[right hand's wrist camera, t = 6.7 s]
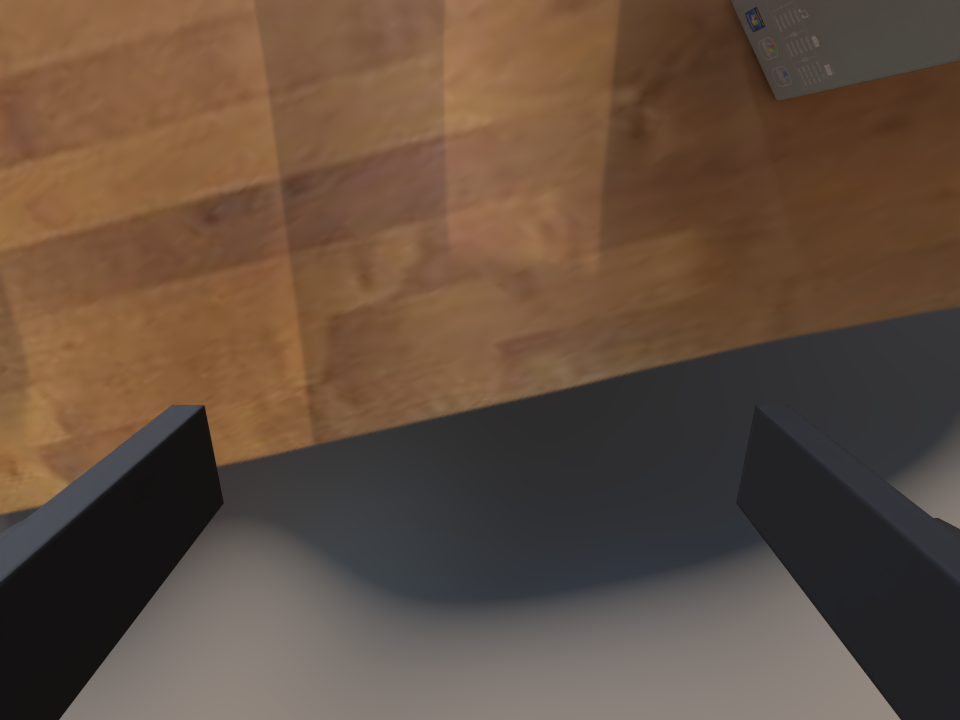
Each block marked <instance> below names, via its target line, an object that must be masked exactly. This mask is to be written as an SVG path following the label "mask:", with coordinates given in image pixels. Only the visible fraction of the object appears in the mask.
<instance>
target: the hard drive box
mask: <svg viewBox="0 0 960 720" xmlns="http://www.w3.org/2000/svg"><path fill="white" fill-rule="evenodd" d="M731 2H732V4H733V7H734V9H735V11H736V13H737V16H738V18H739V20H740V22H741V24H742V26H743V29H744V31H745V33H746V35H747V37H748V40H749V42H750V44H751V46H752V48H753V50H754V53H755V55H756V57H757V59H758V61H759V63H760V66H761V68H762V70H763V72H764V74H765V77H766V79H767V81H768V83H769V85H770V87H771V89H772V92H773V94H774V96H775V97H776V99H777V100H778V101H781V100H785V99H790V98H795V97H800V96H804V95H809V94H814V93H818V92H823V91H827V90H832V89H836V88H840V87H845V86H849V85H853V84H858V83H862V82H867V81H871V80H876V79H881V78H885V77H890V76H894V75H899V74H903V73H908V72H912V71H916V70H921V69H925V68H930V67H934V66H939V65H943V64H948V63H952V62H957V61H960V0H731Z"/></svg>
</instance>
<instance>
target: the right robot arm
mask: <svg viewBox="0 0 960 720" xmlns="http://www.w3.org/2000/svg"><path fill="white" fill-rule="evenodd" d="M223 503H224V502H223V497H222V492H221V487H220V482H219V477H218V472H217V467H216V462H215V457H214V452H213V446H212V441H211V436H210V431H209V426H208V421H207V416H206V411H205V406H204V405H172V406H170V407H169V408H168V409H167V410H165V411H164V412H163V413H161V414H160V415H159V416H158V417H156V418H155V419H154V420H152V421H151V422H150V423H149V424H147V425H146V426H145V427H143V428H142V429H141V430H140V431H138V432H137V433H136V434H134V435H133V436H132V437H131V438H129V439H128V440H127V441H125V442H124V443H123V444H122V445H120V446H119V447H118V448H116V449H115V450H114V451H113V452H111V453H110V454H109V455H107V456H106V457H105V458H104V459H102V460H101V461H100V462H98V463H97V464H96V465H95V466H93V467H92V468H91V469H89V470H88V471H87V472H86V473H84V474H83V475H82V476H80V477H79V478H78V479H77V480H75V481H74V482H73V483H71V484H70V485H69V486H68V487H66V488H65V489H64V490H62V491H61V492H60V493H59V494H57V495H56V496H55V497H53V498H52V499H51V500H50V501H48V502H47V503H46V504H44V505H43V506H42V507H41V508H39V509H38V510H37V511H35V512H34V513H33V514H32V515H30V516H29V517H28V518H26V519H25V520H21V521H19V522H17V523H16V524H14V525H12V526H10V527H8V528H6V529H4V530H2V531H0V720H59V719H60V718H61V716H62V715H63V714H64V713H65V711H66V710H67V708H68V707H69V706H70V705H71V703H72V702H73V701H74V699H75V698H76V697H77V695H78V694H79V693H80V691H81V690H82V689H83V687H84V686H85V685H86V684H87V682H88V681H89V680H90V678H91V677H92V676H93V674H94V673H95V672H96V670H97V669H98V668H99V666H100V665H101V664H102V663H103V661H104V660H105V659H106V657H107V656H108V655H109V653H110V652H111V651H112V649H113V648H114V647H115V645H116V644H117V643H118V641H119V640H120V639H121V638H122V636H123V635H124V634H125V632H126V631H127V630H128V628H129V627H130V626H131V624H132V623H133V622H134V620H135V619H136V618H137V616H138V615H139V614H140V613H141V611H142V610H143V609H144V607H145V606H146V605H147V603H148V602H149V601H150V599H151V598H152V597H153V595H154V594H155V593H156V591H157V590H158V589H159V588H160V586H161V585H162V584H163V582H164V581H165V580H166V578H167V577H168V576H169V574H170V573H171V572H172V570H173V569H174V568H175V566H176V565H177V564H178V562H179V561H180V560H181V559H182V557H183V556H184V555H185V553H186V552H187V551H188V549H189V548H190V547H191V545H192V544H193V543H194V541H195V540H196V539H197V538H198V536H199V535H200V534H201V532H202V531H203V530H204V528H205V527H206V526H207V524H208V523H209V522H210V520H211V519H212V518H213V516H214V515H215V514H216V512H217V511H218V510H219V509H220V507H221V506H222V505H223ZM737 505H738V506H739V507H740V509H741V510H742V511H743V512H744V514H745V515H746V516H747V518H748V519H749V520H750V522H751V523H752V524H753V526H754V527H755V528H756V530H757V531H758V532H759V534H760V535H761V536H762V537H763V539H764V540H765V541H766V543H767V544H768V545H769V547H770V548H771V549H772V551H773V552H774V553H775V555H776V556H777V557H778V559H779V560H780V561H781V563H782V564H783V565H784V566H785V568H786V569H787V570H788V572H789V573H790V574H791V576H792V577H793V578H794V580H795V581H796V582H797V584H798V585H799V586H800V587H801V589H802V590H803V591H804V593H805V594H806V595H807V597H808V598H809V599H810V601H811V602H812V603H813V605H814V606H815V607H816V609H817V610H818V611H819V613H820V614H821V615H822V616H823V618H824V619H825V620H826V622H827V623H828V624H829V626H830V627H831V628H832V630H833V631H834V632H835V634H836V635H837V636H838V638H839V639H840V640H841V641H842V643H843V644H844V645H845V647H846V648H847V649H848V651H849V652H850V653H851V655H852V656H853V657H854V659H855V660H856V661H857V663H858V664H859V665H860V666H861V668H862V669H863V670H864V672H865V673H866V674H867V676H868V677H869V678H870V680H871V681H872V682H873V684H874V685H875V686H876V688H877V689H878V690H879V691H880V693H881V694H882V695H883V697H884V698H885V699H886V701H887V702H888V703H889V705H890V706H891V707H892V709H893V710H894V711H895V713H896V714H897V715H898V716H899V718H900V719H901V720H960V529H959V528H957V527H955V526H953V525H951V524H949V523H947V522H945V521H943V520H941V519H939V518H932V517H931V516H930V515H928V514H927V513H926V512H925V511H923V510H922V509H921V508H919V507H918V506H917V505H916V504H914V503H913V502H912V501H910V500H909V499H908V498H907V497H905V496H904V495H903V494H901V493H900V492H899V491H898V490H896V489H895V488H894V487H892V486H891V485H890V484H889V483H887V482H886V481H885V480H883V479H882V478H881V477H879V476H878V475H877V474H876V473H874V472H873V471H872V470H871V469H869V468H868V467H867V466H865V465H864V464H863V463H862V462H860V461H859V460H858V459H856V458H855V457H854V456H853V455H851V454H850V453H849V452H847V451H846V450H845V449H844V448H842V447H841V446H840V445H838V444H837V443H836V442H835V441H833V440H832V439H831V438H829V437H828V436H827V435H826V434H824V433H823V432H822V431H820V430H819V429H818V428H817V427H815V426H814V425H813V424H811V423H810V422H809V421H808V420H806V419H805V418H804V417H802V416H801V415H800V414H799V413H797V412H796V411H795V410H793V409H792V408H791V407H790V406H788V405H756V406H755V411H754V416H753V421H752V426H751V431H750V436H749V441H748V446H747V452H746V457H745V462H744V467H743V472H742V477H741V482H740V487H739V492H738V497H737Z"/></svg>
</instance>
